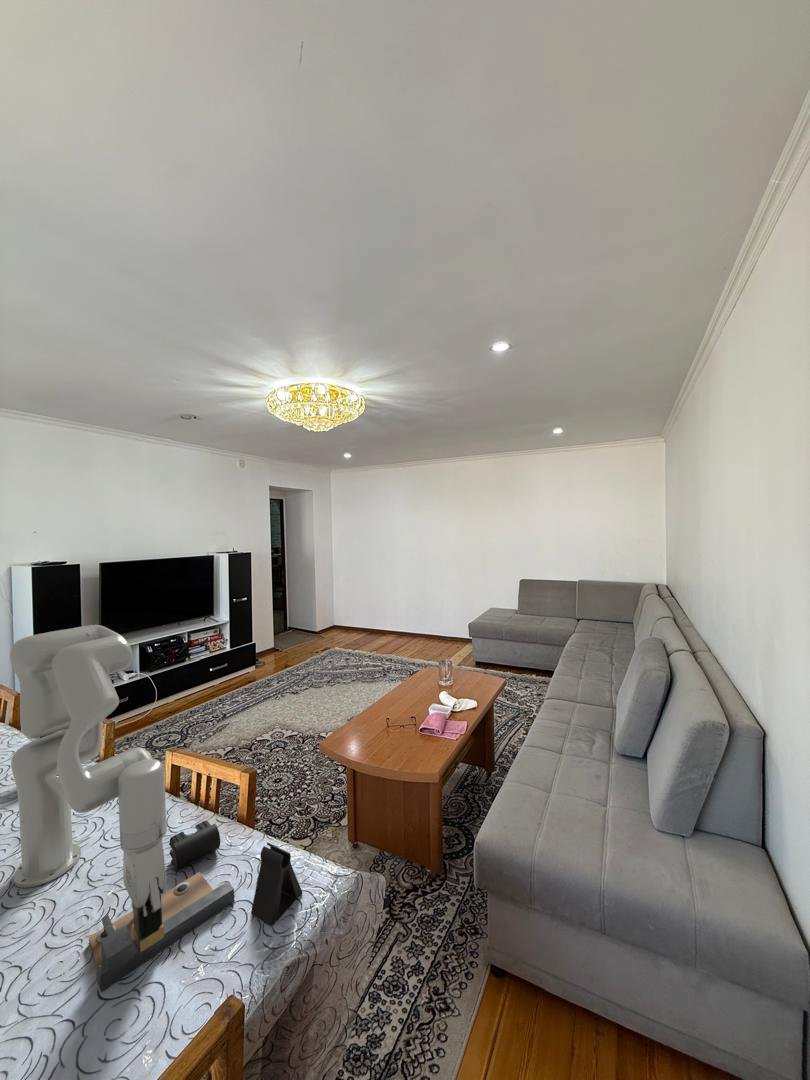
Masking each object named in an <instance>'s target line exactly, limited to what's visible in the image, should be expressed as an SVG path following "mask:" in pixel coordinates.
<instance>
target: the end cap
mask: <svg viewBox="0 0 810 1080" xmlns="http://www.w3.org/2000/svg"><path fill="white" fill-rule="evenodd" d="M194 826H195V827H194V828H196V832H194V833H192V834H186V833H185V832H184V831H181V832H178V833H177V834H174V835H173V836H171V837H170V838H169V843H168V845H169V847H170V848H171V849H170V850H169V855H170V858H171V860H170V864H171V866H172V867H173V870H174V871H175V872H179V871H181V870H183V869H185V868H187V867H189V866H191V865H192V864H194V863H196V862H197V861H199V860H201V859H203V858H205V857H207V856H209V855H211V854H212V853H215V852H216V851H217V850H219V848H220V846H221V835H220V831H219V829H218V826H217V825H216V823H213V824H211V823H210V822H209V821H208V820H207V819H205V820H203V821H201V822H200V823H197V824H195V825H194Z"/></svg>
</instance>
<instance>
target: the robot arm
mask: <svg viewBox="0 0 810 1080" xmlns="http://www.w3.org/2000/svg"><path fill="white" fill-rule="evenodd" d="M9 659H10V665H11V667H12V669H13V671H14V674H15V675H16V677H17V679H18V682H19V721H20V722H19V723H20V730H21V733H22V734H23V736H24V737H26V738H29V739H35V740H32V741H30V742H28V743H26V744H24V745H22V746H20V747H19V748H18V749H17V750H16V751H15V752H14V754H13V755H12V757H11V760H10V761H11V762H10V766H11V772H12V776H13V779H14V781H15V782H14V783H15V786H16V787H15V788H16V791H17V792H16V793H17V802H18V817H19V832H20V833H19V835H20V837H19V839H20V857H21V864H20V865H19V866H18V868H17V869H16V870H15V871H14V873H13V879H12V880H13V884H14V886H17V887H18V888H33V887H38V886H41V885H44V884H46V883H49V882H51V881H54V880H56V879H57V878H59V877H60V876H62V875H63V874H65V873H66V872H68V871H69V870H70V869H72V868H73V867H74V866H75V865H76V864H77V862H78V861H79V860H80V858H81V856H82V849H81V847H80V846H79V845H78V844H76V843H74V842H73V826H72V822H73V821H72V810H73V811H74V812H76V813H79V814H82V813H83V814H84V813H88V812H91V811H93V810H95V809H97V808H100V807H102V806H103V805H106V804H107V803H109V802H111V801H113V800H116V799H117V798H118V819H119V839H120V842H119V843H120V849H121V850H122V851H123V863H122V864H123V868H122V870H123V871H122V872H123V885H124V887H125V890H126V891H127V893H128V896H129V899H130V900H131V901H132V902H133V904H134V906H135V907H137V908H140V907H141V906H142V914H141V915H140V921H141V935H142V937H144V936H146V935H147V934H149V933H151V932H152V931H154V930H155V929H157V928H158V927H160V925H161V913H160V908H161V902H160V895H159V891H160V893H161V894H163V893H164V892H166V887H167V886H166V885H167V883H166V882H167V881H166V879H167V878H166V877H167V876H166V863H165V853H164V851H165V850H164V846H163V845H164V844H163V838H164V837H165V836H166V834H167V830H168V829H167V826H168V825H167V824H168V823H167V808H166V805H167V803H166V782H165V779H166V778H165V767H164V765H163V762H161V761H160V760H158V759H154V758H153V757H152V755H151V753H150V752H149V751H147V750H146V749H145V748H144V747H139V746H138V747H133V748H130V749H128V750H126V751H125V750H124V751H123V752H121V753H118V754H117V755H114V756H111V757H109V758H107V759H104V760H102V761H100V762H98V763H95V764H93V765H90V766H88V767H86V768H84V767H83V765H82V764H84V763H86V762H88V761H91V760H93V759H94V758H96V757H97V756H98V755H99V753H100V752H101V750H102V749H101V748H102V743H103V720H104V719H106V718H107V717H108V716H109V715H111V714H112V713H113V712H114V711H115V710H116V709H117V707H118V706H119V703H120V698H119V696H118V693H117V690H116V689H115V686H114V684H113V681H112V678H111V677H110V675H112V674H116V673H119V672H122V671H125V670H127V669H128V668H129V667H130V666H131V664H132V662H133V659H134V658H133V650H132V648H131V645H130V643H129V642H128V641H127V639H125V637H124V636H123V635H121V634H119V633H118V632H115V631H114V630H112V629H110V628H108V627H106V626H103V625H101V624H100V625H99V624H89V625H83V626H77V627H73V628H67V629H59V630H54V631H48V632H47V631H46V632H44V633H43V632H42V633H37V634H34V635H29V636H26V637H25V636H24V637H23V638H21V639H17V641H15V642H14V644H13V645H12V646H11V648H10V652H9ZM66 728H68V729H66ZM64 729H66V730H64ZM61 730H63V731H61ZM58 731H60V732H58ZM55 732H57V733H55ZM52 733H54V734H52ZM49 734H51V735H49ZM46 735H48V736H46ZM42 736H45V737H42ZM40 737H42V738H40ZM36 738H37V739H36ZM57 775H59V778H57V777H56V776H57ZM149 900H151V904H149V905H148V906H147V905H146V902H148V901H149Z"/></svg>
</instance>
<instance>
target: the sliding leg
mask: <svg viewBox="0 0 810 1080" xmlns="http://www.w3.org/2000/svg"><path fill="white" fill-rule="evenodd" d="M159 895H160V902H161V893H160V891H159ZM149 904H151V900H149V901H148V902H146V905H147V906H148V905H149ZM131 908H132V911H133V920H134V924H133V925H132V927H133V937H134V939H135V941H136V943H137V946H138V948H139V950H140V952H142V951H144V950H145V949H147V948H148V947H150V946H151V945H153V944H154V943H156V942H157V941H159V940H160V939H162V938H163V937H164V926H163V924H162V906H161V908H160V913H161V925H160V927H158V928H157V929H155V930H154V931H152V932H151V933H149V934H147V935H146V936H144V937H142V935H141V921H140V915H141V914H142V906H141V907H140V908H137V907H135V906H134V904H133V902H132V900H131Z"/></svg>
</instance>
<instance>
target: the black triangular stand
mask: <svg viewBox="0 0 810 1080" xmlns="http://www.w3.org/2000/svg"><path fill="white" fill-rule="evenodd" d="M267 846H269V847H267ZM267 846H265V845H264V846H262V849H261V851H260V867H259V871H258V877H257V882H256V888H255V891H254V896H253V901H252V907H251V911H250V914H251V915H252V916H254V917H255V918H256V919H258V920H260V921H262V922H263V923H265V924H266V925H268V926H270V927H271V928H272V927H273V926H274V925H275V924H276V923H277V922H278V921H279V920H280V919H281V917H283V915H284V914H286V912H287V911H288V910H289V909H290V908H291V907H292V906H293V905H294V904H295V903H296V901H298V900H299V898H300V897H301V896H302V895H303V890H302V887H301V885H300V884H299V883H300V882H299V880H298V877H297V875H296V873H295V871H294V868H293V866H292V863H291V861H292V860H291V859H292V855H291V853H290V852H289V851H286V850H284V848H283V849H282V848H280V847H278V846H276V845H274V844H272V843H270V842H268V843H267Z"/></svg>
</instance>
